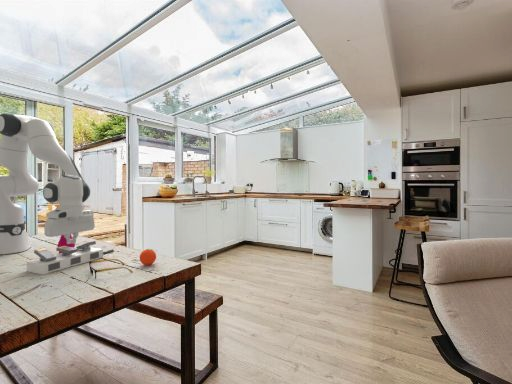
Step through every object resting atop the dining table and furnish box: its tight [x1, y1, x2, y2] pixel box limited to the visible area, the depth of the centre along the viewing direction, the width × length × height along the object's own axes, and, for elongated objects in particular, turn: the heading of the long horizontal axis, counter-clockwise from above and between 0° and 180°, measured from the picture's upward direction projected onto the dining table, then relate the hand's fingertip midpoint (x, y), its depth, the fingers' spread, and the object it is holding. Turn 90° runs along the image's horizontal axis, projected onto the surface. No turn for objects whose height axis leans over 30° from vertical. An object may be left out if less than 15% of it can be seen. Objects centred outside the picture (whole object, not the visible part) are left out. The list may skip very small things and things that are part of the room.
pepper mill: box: [57, 234, 76, 254], centre depth 140 cm, size 7×7×20 cm
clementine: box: [139, 248, 158, 266], centre depth 125 cm, size 8×7×7 cm
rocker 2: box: [55, 246, 78, 254], centre depth 125 cm, size 8×4×2 cm, turn 68°
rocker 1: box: [33, 247, 57, 262], centre depth 117 cm, size 8×4×2 cm, turn 68°
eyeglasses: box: [88, 258, 134, 279], centre depth 116 cm, size 14×14×4 cm
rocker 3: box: [75, 240, 97, 250], centre depth 133 cm, size 8×4×2 cm, turn 67°
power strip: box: [26, 246, 115, 275], centre depth 130 cm, size 10×37×5 cm, turn 158°
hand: (71, 243), depth 124 cm, fingers closed
